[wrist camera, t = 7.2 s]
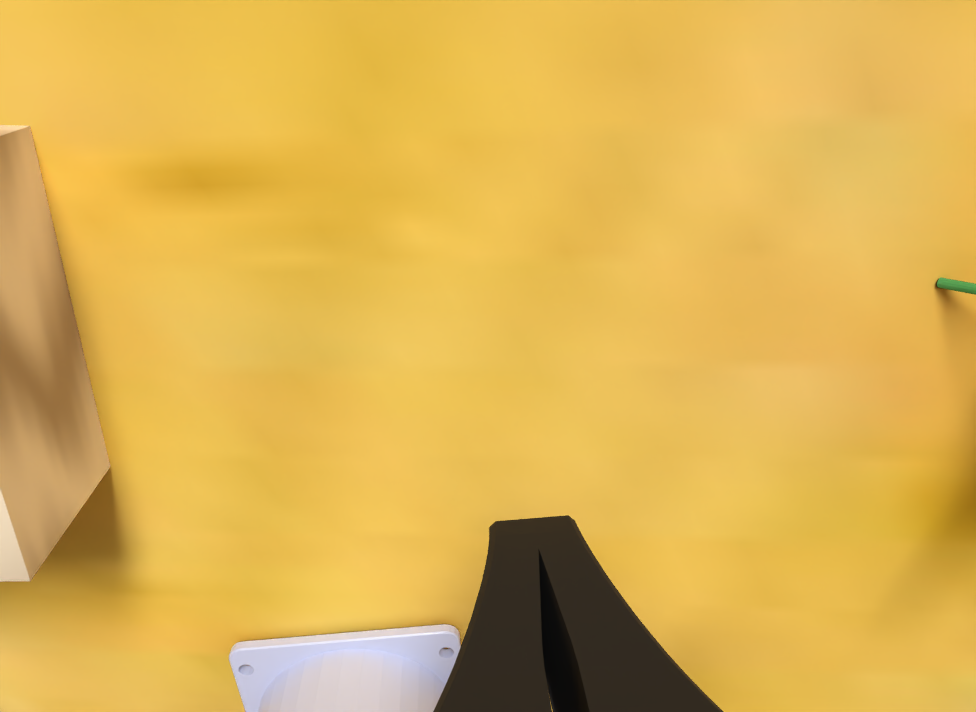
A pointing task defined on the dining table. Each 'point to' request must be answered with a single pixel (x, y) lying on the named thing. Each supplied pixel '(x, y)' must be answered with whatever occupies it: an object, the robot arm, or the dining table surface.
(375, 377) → the dining table surface
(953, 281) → the lily
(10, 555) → the maple block
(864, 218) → the dining table surface
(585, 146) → the dining table surface
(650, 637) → the robot arm
